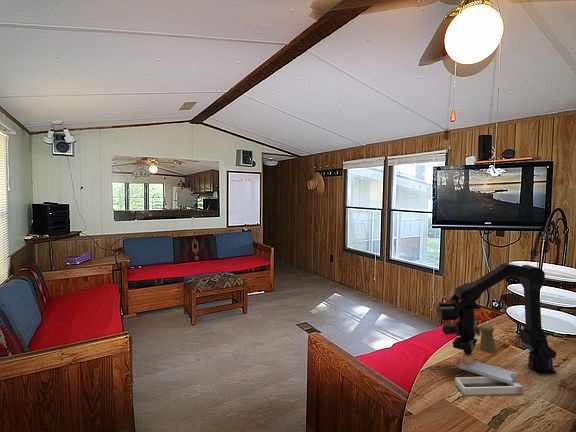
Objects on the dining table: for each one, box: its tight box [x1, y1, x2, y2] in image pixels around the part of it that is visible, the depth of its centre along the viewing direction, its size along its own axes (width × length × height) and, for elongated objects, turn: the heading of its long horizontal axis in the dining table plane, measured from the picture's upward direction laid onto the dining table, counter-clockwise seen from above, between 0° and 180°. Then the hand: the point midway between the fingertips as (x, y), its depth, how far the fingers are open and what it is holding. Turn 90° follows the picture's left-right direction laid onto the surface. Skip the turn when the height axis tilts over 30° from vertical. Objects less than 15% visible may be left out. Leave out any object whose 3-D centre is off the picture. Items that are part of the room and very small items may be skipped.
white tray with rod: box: [454, 376, 524, 397], centre depth 111 cm, size 19×7×2 cm, turn 86°
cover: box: [458, 353, 519, 384], centre depth 116 cm, size 18×7×4 cm, turn 40°
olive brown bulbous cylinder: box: [479, 323, 497, 354], centre depth 140 cm, size 6×6×11 cm
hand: (467, 358), depth 124 cm, fingers closed
